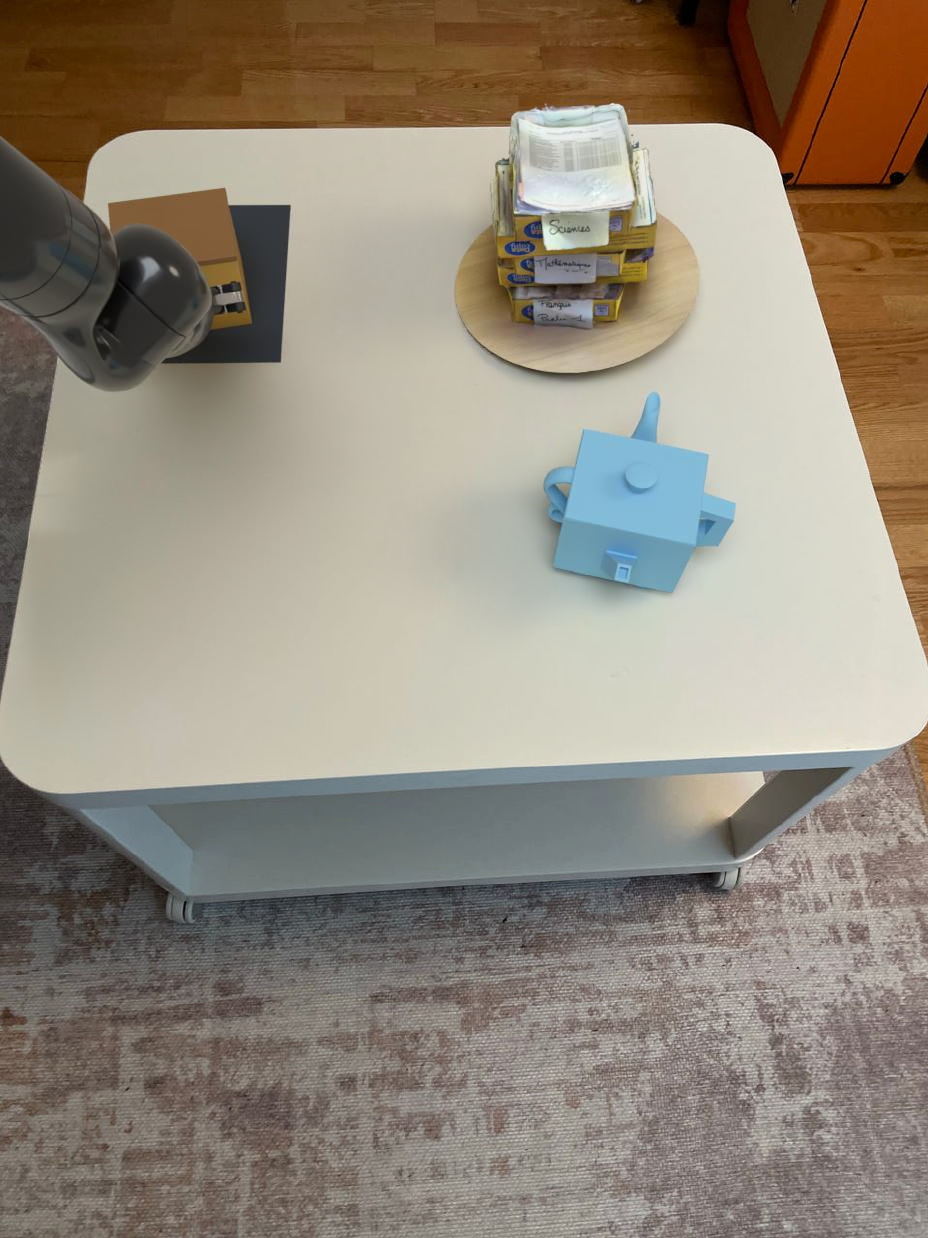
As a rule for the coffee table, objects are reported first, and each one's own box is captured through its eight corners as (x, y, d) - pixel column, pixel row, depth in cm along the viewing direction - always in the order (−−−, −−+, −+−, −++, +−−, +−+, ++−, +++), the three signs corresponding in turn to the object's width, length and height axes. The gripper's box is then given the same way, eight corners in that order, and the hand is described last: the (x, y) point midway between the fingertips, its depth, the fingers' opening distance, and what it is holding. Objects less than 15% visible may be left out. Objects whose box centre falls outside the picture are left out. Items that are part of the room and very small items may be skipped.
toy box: (253, 324, 95) (236, 255, 87) (141, 341, 94) (113, 272, 86) (242, 258, 99) (225, 187, 91) (135, 274, 98) (107, 202, 90)
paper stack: (425, 352, 94) (423, 216, 79) (490, 186, 105) (499, 39, 90) (665, 410, 92) (710, 282, 77) (708, 235, 102) (754, 92, 87)
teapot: (517, 606, 82) (528, 541, 72) (555, 443, 90) (570, 363, 80) (695, 645, 81) (732, 585, 71) (719, 476, 89) (755, 400, 79)
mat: (118, 364, 93) (117, 363, 93) (143, 206, 102) (143, 205, 102) (280, 363, 94) (280, 362, 93) (290, 205, 103) (290, 204, 103)
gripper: (233, 244, 74) (243, 254, 90) (62, 271, 73) (103, 276, 89) (255, 342, 77) (260, 335, 93) (90, 369, 75) (125, 357, 91)
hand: (183, 306), depth 91 cm, fingers closed
